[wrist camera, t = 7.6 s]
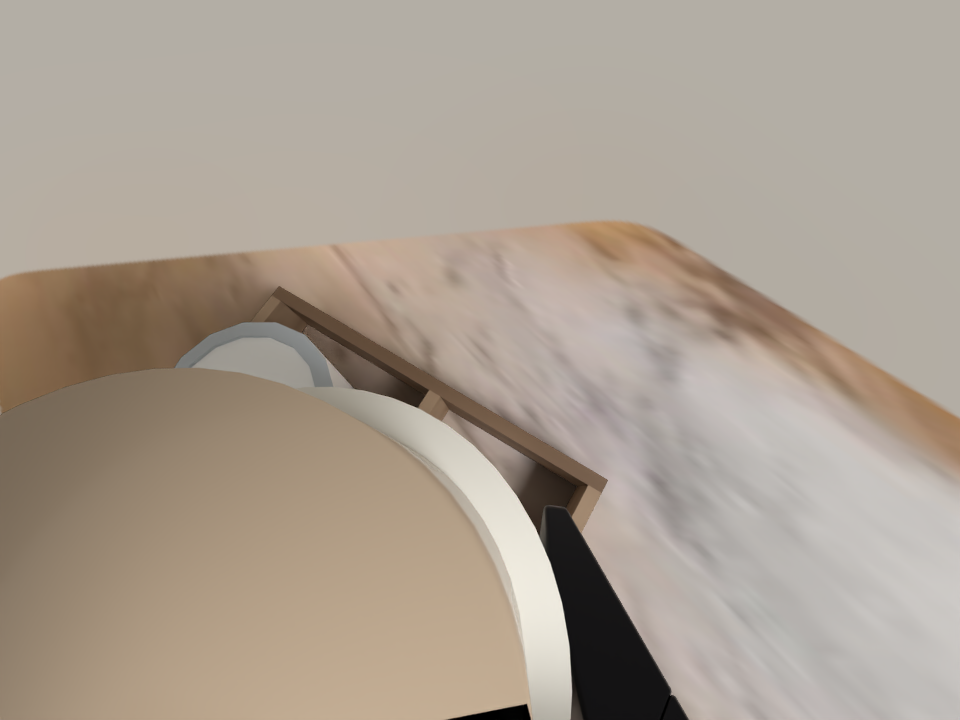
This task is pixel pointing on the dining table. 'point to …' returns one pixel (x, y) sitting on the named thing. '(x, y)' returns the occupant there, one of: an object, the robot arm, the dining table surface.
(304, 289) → the dining table surface
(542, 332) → the dining table surface
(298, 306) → the walnut caddy
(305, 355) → the white cup
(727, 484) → the dining table surface
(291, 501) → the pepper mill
